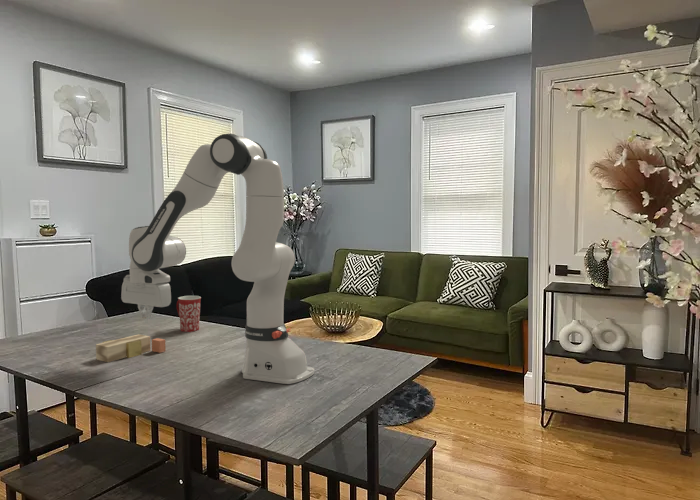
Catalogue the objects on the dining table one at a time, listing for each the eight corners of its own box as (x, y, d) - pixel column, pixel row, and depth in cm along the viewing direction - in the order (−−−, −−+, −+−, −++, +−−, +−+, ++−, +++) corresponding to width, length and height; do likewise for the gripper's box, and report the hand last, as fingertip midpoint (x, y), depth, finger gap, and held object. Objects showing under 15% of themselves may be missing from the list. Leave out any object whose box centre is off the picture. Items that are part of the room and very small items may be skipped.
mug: (206, 329, 202) (205, 297, 201) (186, 333, 195) (186, 300, 194) (188, 325, 210) (188, 293, 209) (169, 328, 203) (168, 296, 202)
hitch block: (150, 350, 170) (150, 336, 170) (107, 362, 156) (107, 347, 156) (139, 348, 173) (138, 334, 173) (96, 359, 159) (95, 344, 159)
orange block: (165, 351, 169) (165, 339, 169) (159, 352, 167) (159, 341, 167) (157, 349, 171) (157, 338, 171) (152, 351, 169) (151, 339, 169)
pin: (141, 354, 166) (141, 340, 165) (128, 358, 161) (128, 343, 161) (113, 348, 173) (113, 334, 173) (100, 351, 169) (100, 337, 169)
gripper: (115, 275, 161) (116, 316, 162) (157, 279, 151) (158, 323, 152) (132, 273, 167) (133, 313, 168) (174, 276, 157) (175, 319, 157)
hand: (146, 318), depth 160 cm, fingers closed
